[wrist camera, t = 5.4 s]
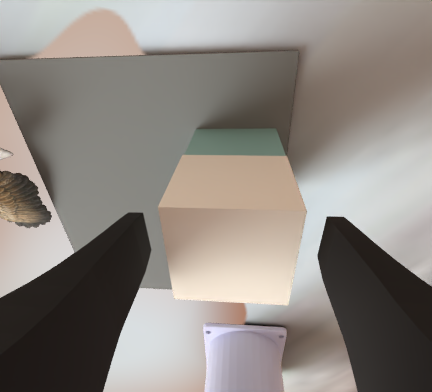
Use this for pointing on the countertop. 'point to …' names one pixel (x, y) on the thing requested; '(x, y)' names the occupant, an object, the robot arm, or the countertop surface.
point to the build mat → (136, 127)
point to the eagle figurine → (20, 199)
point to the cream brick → (232, 228)
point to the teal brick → (236, 142)
